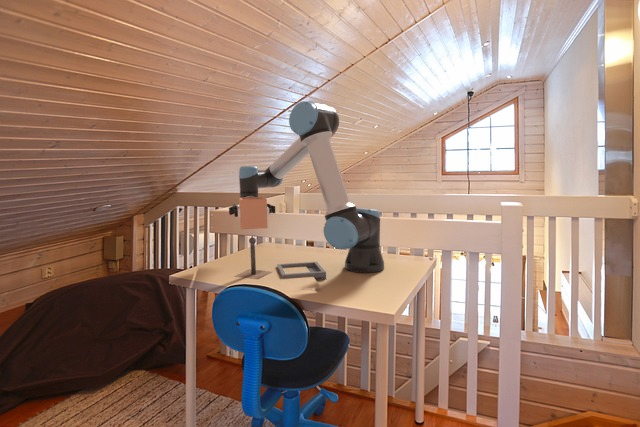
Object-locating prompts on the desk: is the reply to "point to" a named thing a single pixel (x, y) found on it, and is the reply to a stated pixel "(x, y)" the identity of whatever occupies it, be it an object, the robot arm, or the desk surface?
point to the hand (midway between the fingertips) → (253, 212)
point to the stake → (253, 265)
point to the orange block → (253, 213)
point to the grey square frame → (312, 267)
